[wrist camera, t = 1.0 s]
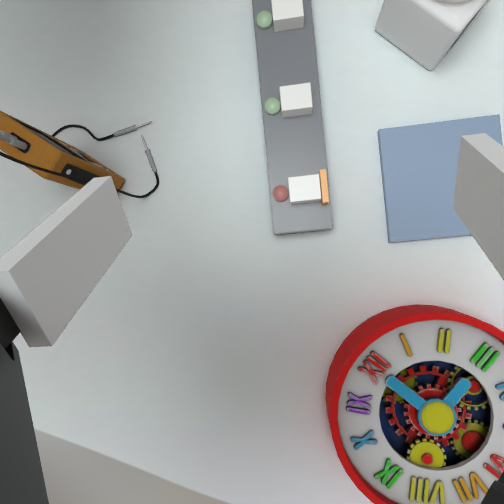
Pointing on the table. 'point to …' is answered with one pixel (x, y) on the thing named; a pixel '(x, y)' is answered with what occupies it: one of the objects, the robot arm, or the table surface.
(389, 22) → the container
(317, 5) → the table surface
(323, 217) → the breaker panel
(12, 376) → the robot arm
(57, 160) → the multimeter
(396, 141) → the pad
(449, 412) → the toy clock
